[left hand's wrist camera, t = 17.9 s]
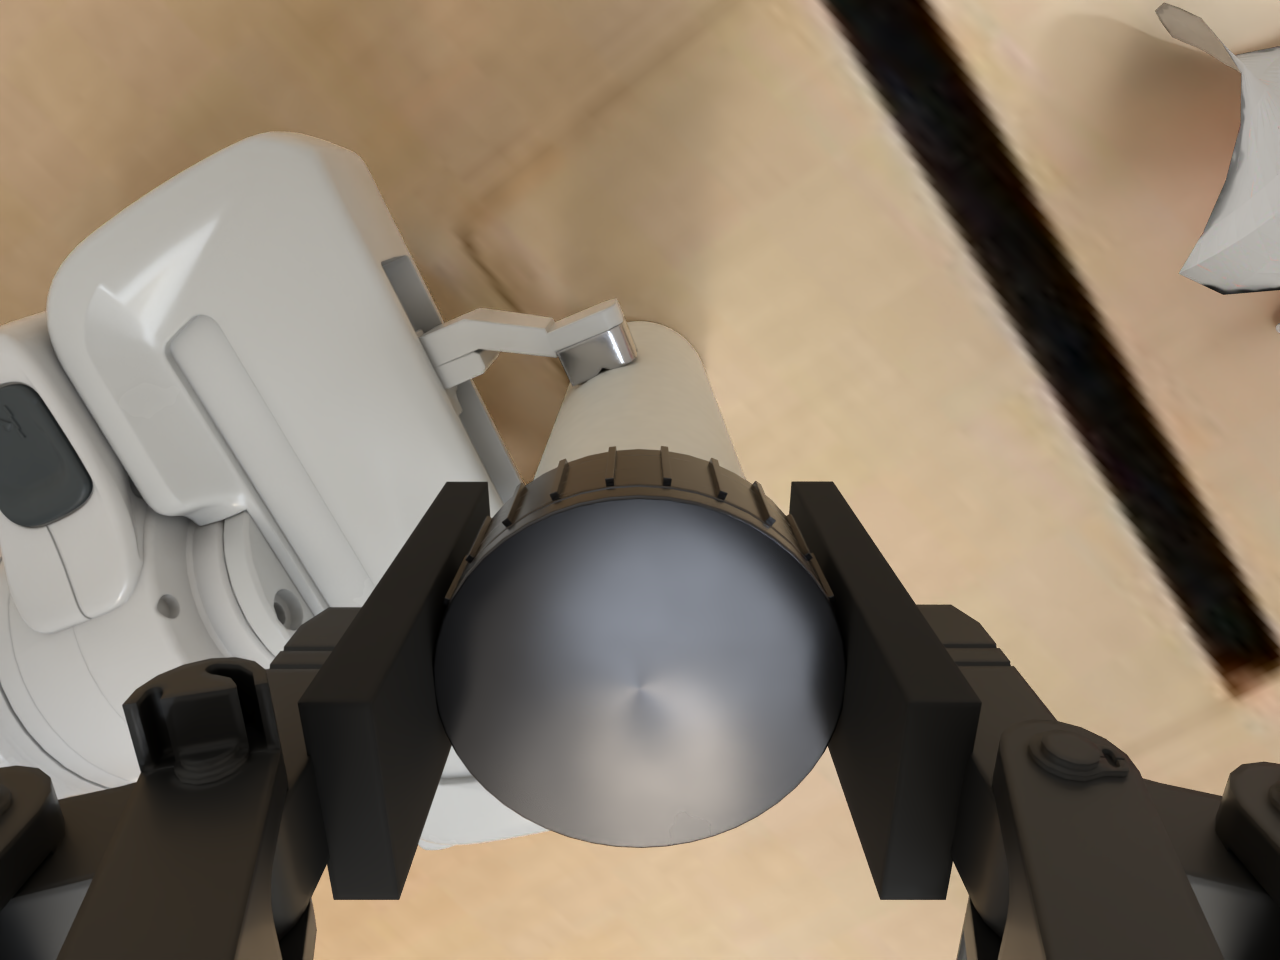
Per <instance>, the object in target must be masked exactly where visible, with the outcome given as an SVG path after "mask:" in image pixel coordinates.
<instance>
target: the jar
mask: <svg viewBox="0 0 1280 960" xmlns="http://www.w3.org/2000/svg"><path fill="white" fill-rule="evenodd" d="M627 324H628V326H629V329H630V332H631V334H632V337H633V339H634V342H635V344H636V347H637V349H638V352H637V354H638V356H637V358H636V359H635V360H633V361H632V362H630V363H628V364H626V365H624V366H622V367H619V368H616V369H612V370H611V369H606V368H602V369H601V371H600V372H599V374H598V375H597V376H596V377H594V378H592V379H590V380H587V381H585V382H582V383H580V384H577V385H575V386H572V384H571V382H570V384H569V386H568V389H567V392H566V394H565V397H564V400H563V402H562V405H561V408H560V410H559V413H558V416H557V418H556V421H555V424H554V426H553V429H552V432H551V434H550V437H549V440H548V442H547V445H546V448H545V450H544V453H543V456H542V458H541V461H540V464H539V466H538V469H537V472H536V474H535V477H534V480H535V479H536V478H538V477H539V476H541V475H542V474H544V473H546V472H548V471H550V470H552V469H555V468H557V467H558V464H559V461H561V460H563V459H566V460H567V462H571V461H574V460H577V459H580V458H583V457H586V456H589V455H594V454H599V453H604V452H608V450H609V447H613V446H616V449H617V450H631V449H647V450H660V449H661V446H666V447H668V450H669V451H670V452H675V453H681V454H686V455H690V456H693V457H697V458H700V459H703V460H706V461H710V459H711V458H714V459H717V460H718V462H719V466H721V467H723V468H725V469H727V470H729V471H732V472H734V473H735V474H737V475H739V476H740V477H742V478H743V479H745V480H746V478H745V476H744V473H743V470H742V468H741V465H740V462H739V460H738V457H737V454H736V452H735V449H734V446H733V444H732V441H731V438H730V436H729V433H728V430H727V428H726V425H725V422H724V420H723V417H722V414H721V412H720V409H719V406H718V404H717V401H716V398H715V396H714V393H713V390H712V388H711V385H710V382H709V380H708V377H707V374H706V372H705V369H704V366H703V364H702V361H701V359H700V357H699V355H698V353H697V352H696V350H695V349H694V348H693V346H692V345H691V344H690V343H689V342H688V341H687V340H686V339H685V338H684V337H683V336H682V335H680V334H679V333H678V332H676V331H674V330H673V329H671V328H668V327H666V326H664V325H661V324H657V323H654V322H647V321H633V322H627Z"/></svg>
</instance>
